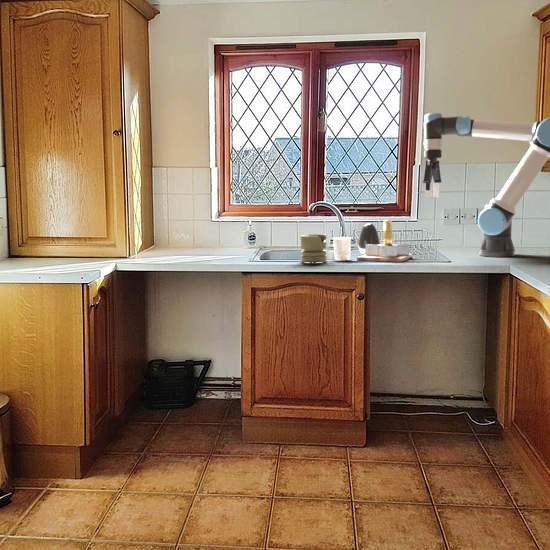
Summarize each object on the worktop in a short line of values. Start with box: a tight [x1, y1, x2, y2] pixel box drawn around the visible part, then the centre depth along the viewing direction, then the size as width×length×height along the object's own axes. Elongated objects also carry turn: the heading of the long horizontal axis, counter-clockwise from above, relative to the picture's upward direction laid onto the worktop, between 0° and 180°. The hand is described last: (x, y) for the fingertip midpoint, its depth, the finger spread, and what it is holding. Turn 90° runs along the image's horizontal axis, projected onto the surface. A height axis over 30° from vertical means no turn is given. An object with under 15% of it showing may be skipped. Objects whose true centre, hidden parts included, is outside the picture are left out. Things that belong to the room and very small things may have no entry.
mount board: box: [356, 253, 413, 263], centre depth 287 cm, size 20×16×2 cm
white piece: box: [366, 243, 410, 257], centre depth 287 cm, size 18×12×5 cm, turn 62°
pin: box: [383, 219, 393, 246], centre depth 284 cm, size 4×4×16 cm
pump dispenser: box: [357, 222, 381, 255], centre depth 303 cm, size 10×10×15 cm
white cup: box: [332, 236, 352, 262], centre depth 287 cm, size 8×8×10 cm
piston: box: [300, 233, 328, 263], centre depth 282 cm, size 11×12×11 cm
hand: (432, 197), depth 286 cm, fingers open, 13 cm apart
